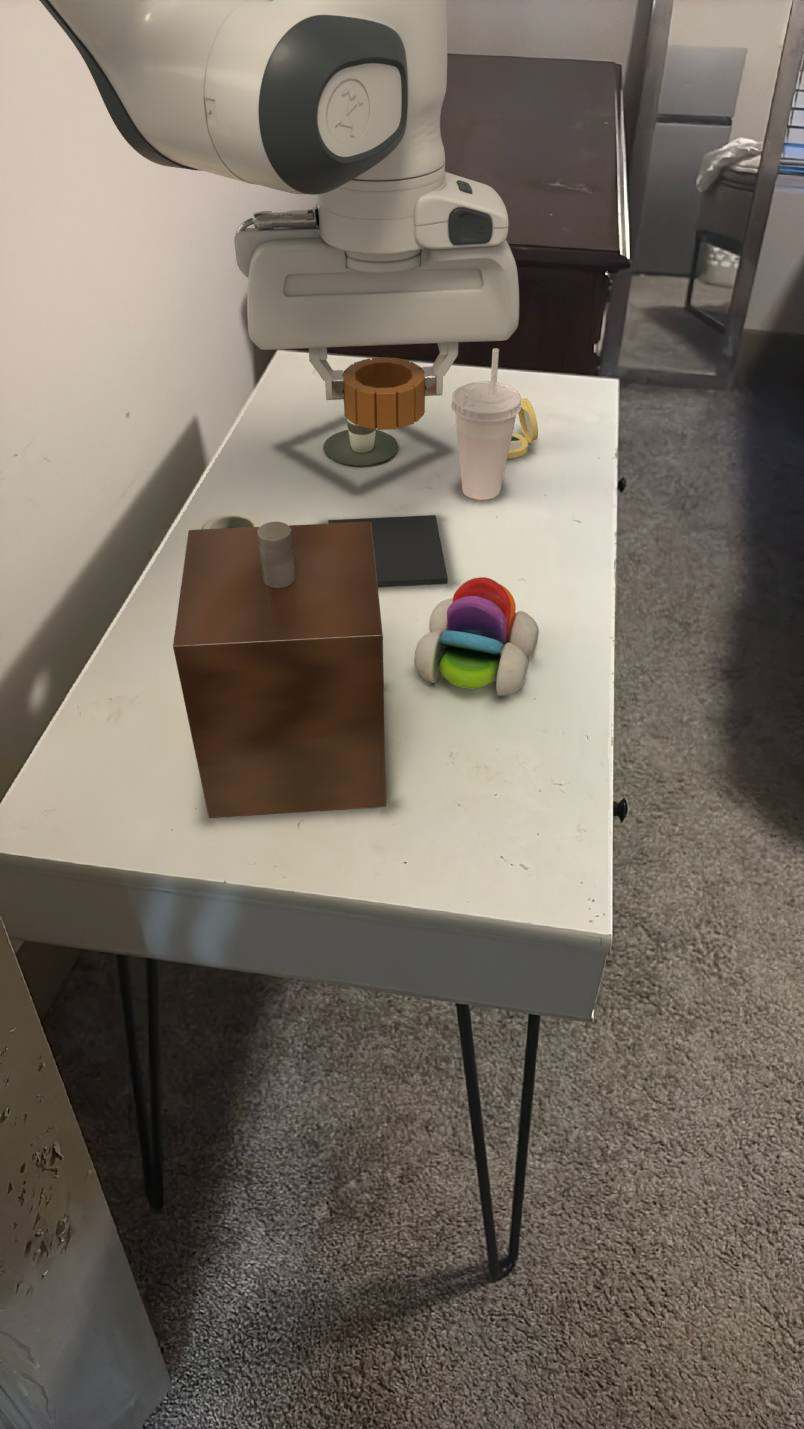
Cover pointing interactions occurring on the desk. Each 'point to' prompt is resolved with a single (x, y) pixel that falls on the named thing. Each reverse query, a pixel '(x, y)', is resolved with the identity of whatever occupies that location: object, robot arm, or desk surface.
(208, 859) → the desk surface
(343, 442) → the coffee cup
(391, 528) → the mat
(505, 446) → the smoothie
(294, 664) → the tape stand
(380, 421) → the grooved wooden ring
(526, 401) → the eyeshadow
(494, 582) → the rainbow disc roller toy
